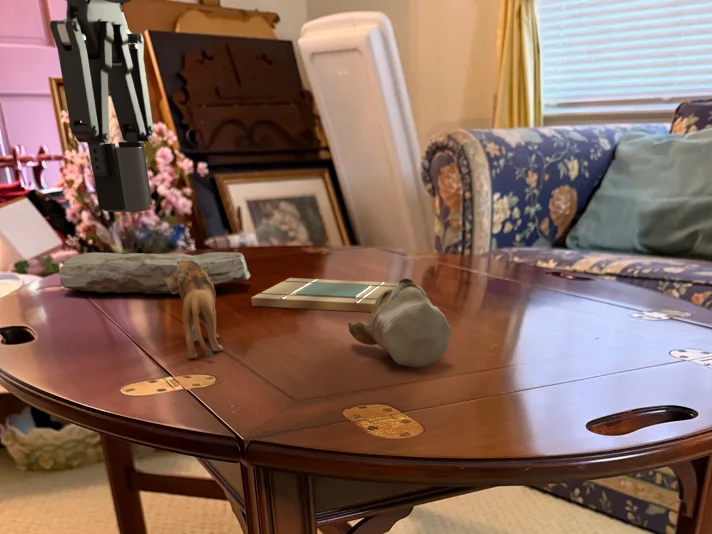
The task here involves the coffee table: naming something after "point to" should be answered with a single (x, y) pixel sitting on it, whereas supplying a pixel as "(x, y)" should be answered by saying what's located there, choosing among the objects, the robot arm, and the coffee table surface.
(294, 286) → the grid board
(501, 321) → the coffee table surface
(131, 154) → the black round canister
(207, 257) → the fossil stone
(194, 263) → the lion figurine
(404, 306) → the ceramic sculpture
